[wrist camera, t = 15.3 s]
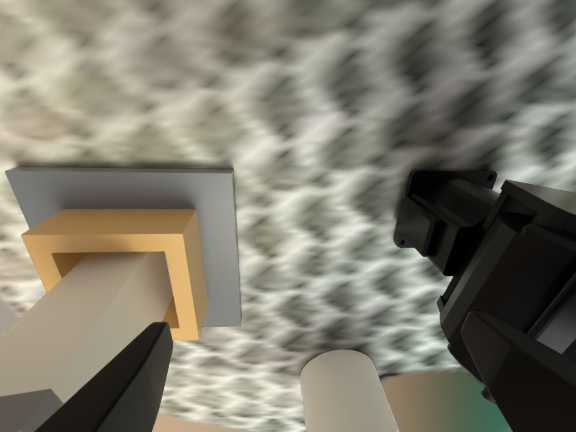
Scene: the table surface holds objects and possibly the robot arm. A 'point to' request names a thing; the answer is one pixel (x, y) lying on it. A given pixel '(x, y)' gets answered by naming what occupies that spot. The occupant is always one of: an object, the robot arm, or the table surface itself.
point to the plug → (78, 332)
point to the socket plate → (140, 231)
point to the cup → (344, 394)
